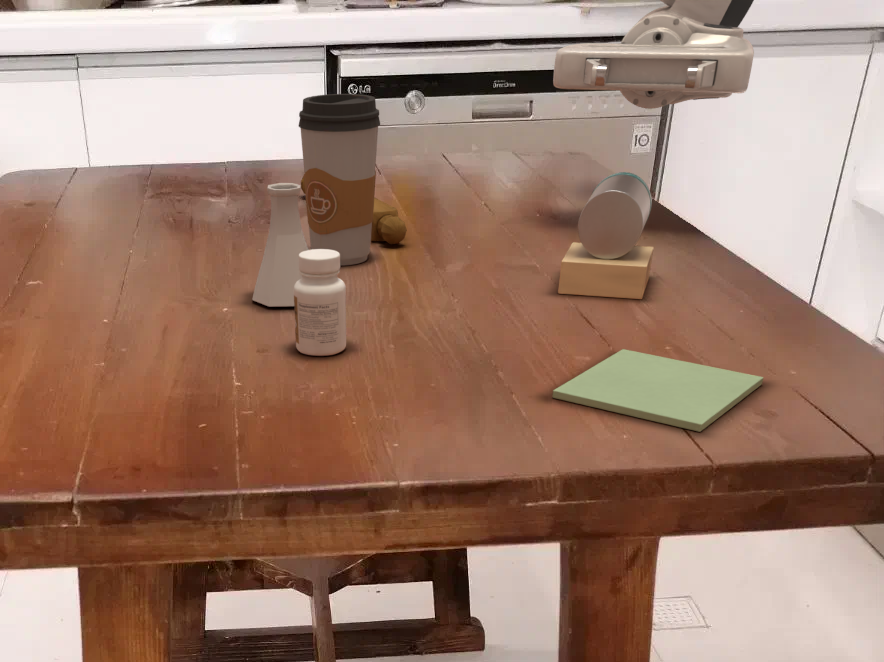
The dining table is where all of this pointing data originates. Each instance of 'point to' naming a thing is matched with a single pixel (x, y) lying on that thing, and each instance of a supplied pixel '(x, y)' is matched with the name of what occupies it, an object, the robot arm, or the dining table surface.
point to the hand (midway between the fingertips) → (645, 77)
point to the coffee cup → (340, 172)
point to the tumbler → (615, 215)
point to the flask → (281, 248)
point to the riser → (605, 273)
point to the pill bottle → (320, 304)
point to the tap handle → (383, 222)
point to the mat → (659, 389)
